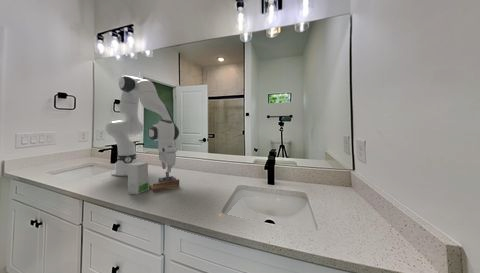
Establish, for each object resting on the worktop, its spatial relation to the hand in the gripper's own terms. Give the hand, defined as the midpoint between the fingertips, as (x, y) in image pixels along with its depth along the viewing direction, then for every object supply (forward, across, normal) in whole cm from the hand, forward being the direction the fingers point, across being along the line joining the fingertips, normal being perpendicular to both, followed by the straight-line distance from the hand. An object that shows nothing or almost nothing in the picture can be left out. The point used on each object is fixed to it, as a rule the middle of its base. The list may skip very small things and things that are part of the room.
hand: (166, 170), depth 106 cm
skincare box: (+10, 0, -15) cm, 18 cm away
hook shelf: (+10, +1, -2) cm, 10 cm away
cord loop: (+8, +1, 0) cm, 8 cm away
